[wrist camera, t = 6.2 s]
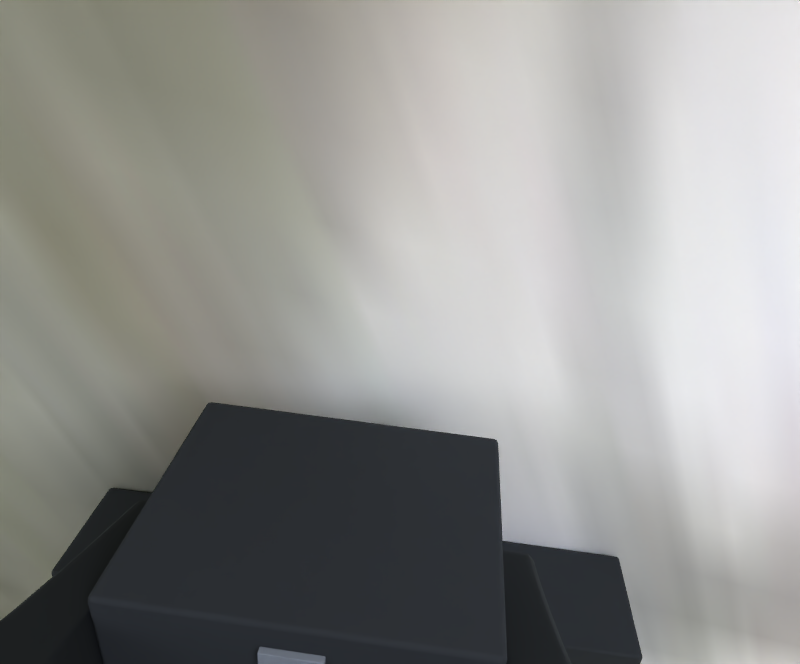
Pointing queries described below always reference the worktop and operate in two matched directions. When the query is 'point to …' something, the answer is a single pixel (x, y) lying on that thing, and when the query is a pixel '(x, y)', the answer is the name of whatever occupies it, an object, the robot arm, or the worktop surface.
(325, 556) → the pad
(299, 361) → the worktop surface
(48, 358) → the worktop surface
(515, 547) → the notch pad
